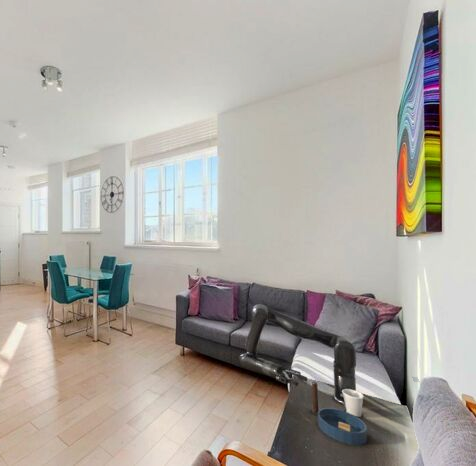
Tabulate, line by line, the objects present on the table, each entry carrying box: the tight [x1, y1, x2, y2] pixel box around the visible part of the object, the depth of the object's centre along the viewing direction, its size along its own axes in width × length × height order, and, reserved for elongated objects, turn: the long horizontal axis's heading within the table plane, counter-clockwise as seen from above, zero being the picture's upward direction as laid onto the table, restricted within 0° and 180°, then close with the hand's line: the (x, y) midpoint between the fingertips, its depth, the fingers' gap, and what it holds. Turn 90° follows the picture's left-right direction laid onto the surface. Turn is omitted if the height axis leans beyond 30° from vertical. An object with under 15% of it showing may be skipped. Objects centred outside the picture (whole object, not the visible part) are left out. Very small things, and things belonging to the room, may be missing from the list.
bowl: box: [316, 407, 368, 446], centre depth 125 cm, size 17×17×6 cm
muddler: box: [311, 381, 320, 415], centre depth 139 cm, size 4×4×15 cm
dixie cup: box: [342, 389, 365, 418], centre depth 138 cm, size 8×8×10 cm
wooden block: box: [338, 422, 351, 432], centre depth 122 cm, size 4×4×4 cm
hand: (302, 381), depth 144 cm, fingers open, 8 cm apart
